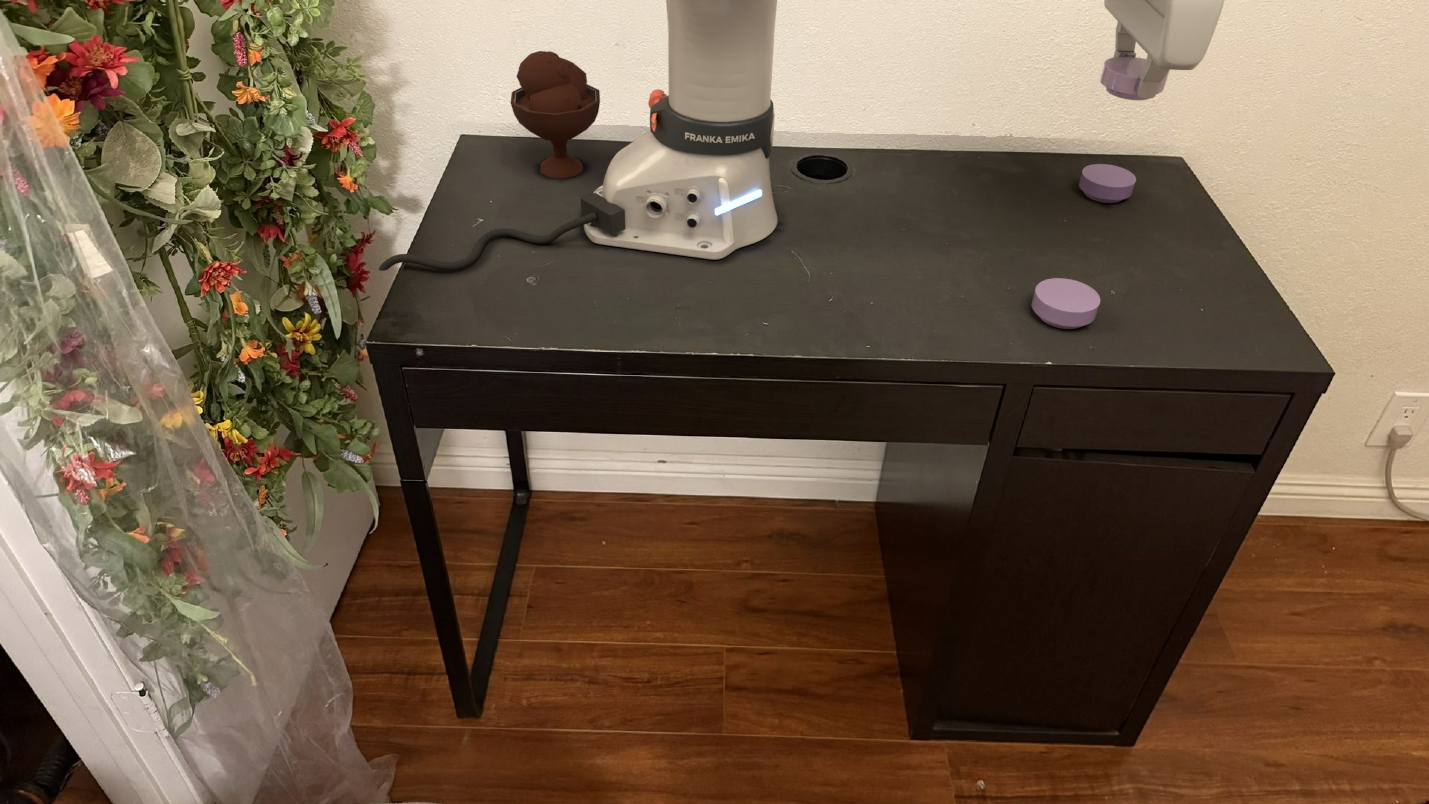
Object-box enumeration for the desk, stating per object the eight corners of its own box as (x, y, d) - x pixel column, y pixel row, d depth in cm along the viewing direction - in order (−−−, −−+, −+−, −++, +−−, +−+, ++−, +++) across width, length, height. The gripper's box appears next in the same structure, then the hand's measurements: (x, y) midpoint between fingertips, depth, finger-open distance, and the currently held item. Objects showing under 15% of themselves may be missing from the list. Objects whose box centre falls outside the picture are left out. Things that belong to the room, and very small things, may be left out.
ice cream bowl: (591, 192, 121) (583, 70, 112) (504, 182, 123) (490, 61, 113) (615, 155, 129) (610, 39, 120) (533, 146, 131) (522, 31, 121)
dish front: (1037, 332, 99) (1043, 310, 98) (1023, 297, 104) (1029, 276, 103) (1101, 334, 99) (1108, 313, 98) (1084, 300, 104) (1091, 278, 103)
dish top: (1107, 102, 102) (1114, 77, 100) (1090, 79, 107) (1096, 55, 105) (1169, 104, 102) (1178, 79, 100) (1149, 81, 107) (1157, 57, 105)
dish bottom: (1084, 205, 121) (1090, 186, 120) (1071, 181, 126) (1076, 162, 125) (1137, 207, 121) (1143, 187, 120) (1121, 183, 126) (1127, 164, 125)
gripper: (1110, -88, 103) (1076, 46, 111) (1177, -32, 87) (1131, 119, 96) (1171, -86, 103) (1132, 48, 111) (1249, -30, 87) (1197, 121, 95)
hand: (1132, 81), depth 103 cm, fingers closed on dish top, 6 cm apart
